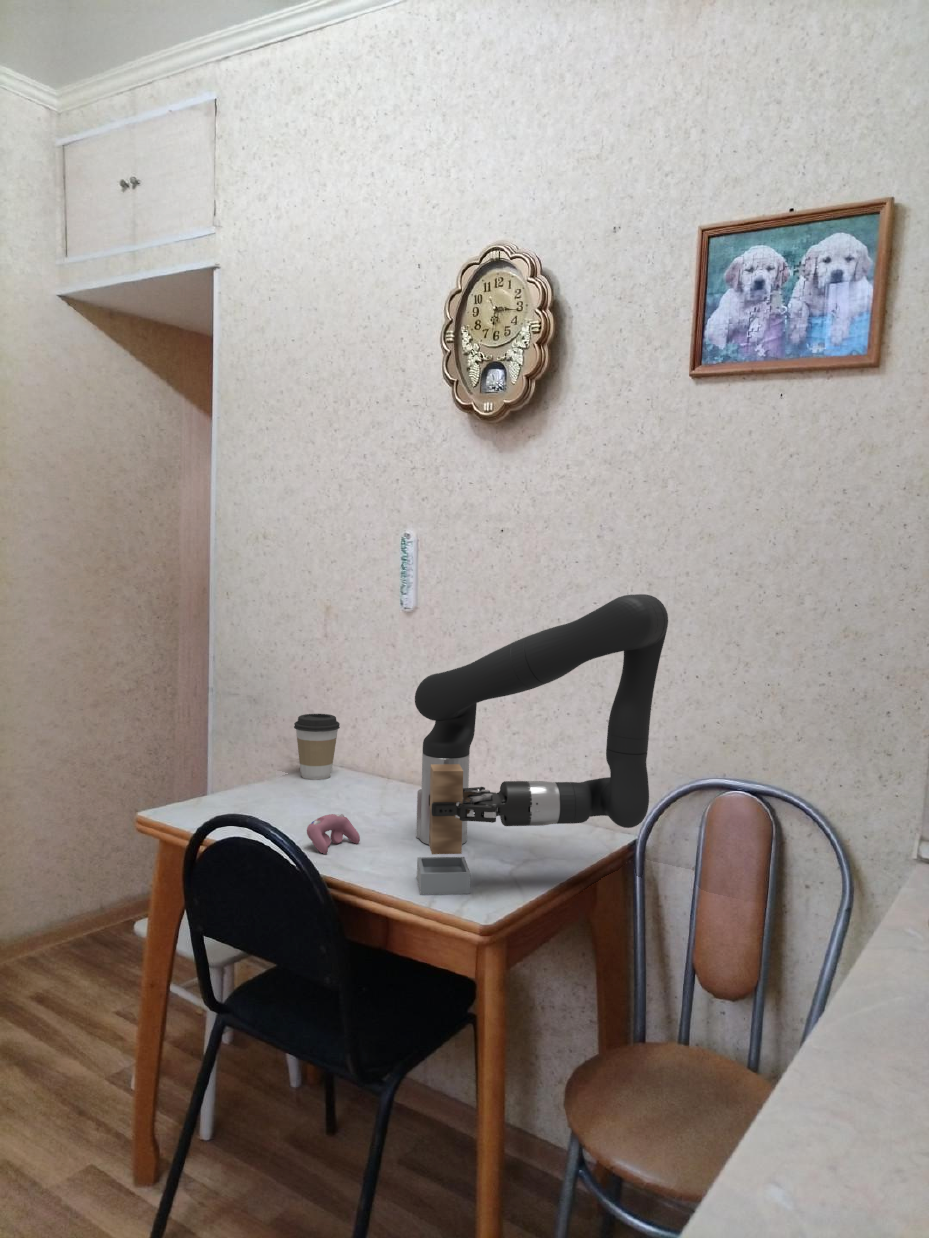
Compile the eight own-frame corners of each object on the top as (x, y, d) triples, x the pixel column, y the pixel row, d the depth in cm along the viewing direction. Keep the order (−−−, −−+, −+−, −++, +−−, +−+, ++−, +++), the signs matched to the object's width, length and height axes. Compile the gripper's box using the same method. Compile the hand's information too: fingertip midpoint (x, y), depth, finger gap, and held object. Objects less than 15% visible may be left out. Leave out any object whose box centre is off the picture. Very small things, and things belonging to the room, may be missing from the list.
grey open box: (420, 894, 149) (421, 873, 148) (416, 876, 157) (417, 857, 157) (469, 893, 150) (470, 873, 150) (463, 876, 158) (464, 856, 158)
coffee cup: (345, 772, 229) (346, 714, 228) (330, 783, 218) (331, 722, 217) (302, 769, 231) (303, 711, 230) (285, 780, 220) (286, 719, 219)
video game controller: (348, 847, 176) (337, 812, 178) (363, 841, 174) (352, 806, 175) (310, 859, 169) (299, 823, 170) (325, 853, 166) (314, 816, 168)
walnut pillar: (431, 854, 150) (433, 771, 149) (429, 844, 155) (430, 764, 154) (461, 853, 151) (463, 770, 150) (458, 844, 156) (459, 764, 155)
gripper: (521, 771, 161) (426, 772, 159) (538, 792, 147) (434, 793, 145) (520, 813, 161) (426, 814, 159) (537, 837, 147) (433, 839, 145)
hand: (430, 804), depth 152 cm, fingers closed on walnut pillar, 5 cm apart
